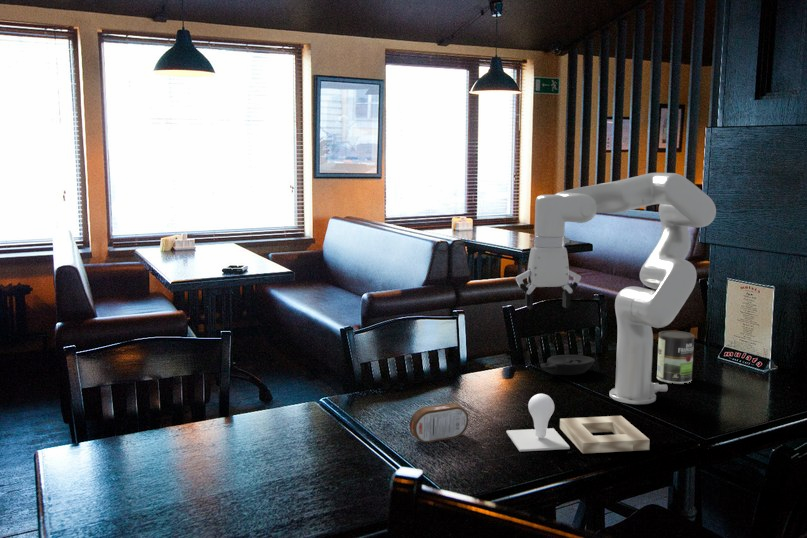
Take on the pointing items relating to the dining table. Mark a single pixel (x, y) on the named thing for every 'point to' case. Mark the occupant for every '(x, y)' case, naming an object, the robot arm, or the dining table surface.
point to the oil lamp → (567, 364)
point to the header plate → (621, 441)
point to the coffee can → (675, 357)
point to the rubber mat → (537, 440)
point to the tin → (439, 422)
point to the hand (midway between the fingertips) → (547, 307)
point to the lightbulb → (541, 413)
